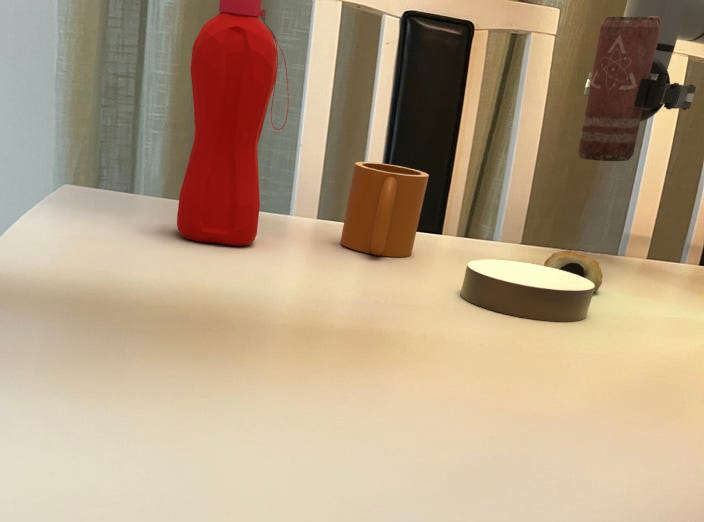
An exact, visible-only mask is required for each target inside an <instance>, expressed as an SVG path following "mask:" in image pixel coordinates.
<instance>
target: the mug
mask: <svg viewBox="0 0 704 522" xmlns="http://www.w3.org/2000/svg"><path fill="white" fill-rule="evenodd" d="M429 177H430V175H429V174H428V173H427V172H424V171H421V170H419V169H414V168H409V167H405V166H402V165H401V166H400V165H396V164H395V165H394V164H388V163H380V162H371V161H357V162H356V161H355V163H354V166H353V171H352V176H351V183H350V188H349V194H348V199H347V204H346V210H345V214H344V215H345V216H344V220H343V226H342V230H341V231H342V232H341V238H340V244H341V245H342V246H344V247H346V248H349V249H351V250H355V251H356V252H357V251H358V252H361V253H365V254H371V255H374V256H376V257H377V256H378V257H379V256H384V257H394V258H404V257H405V258H406V257H410V256H412V254H413V249H414V244H415V240H416V235H417V230H418V227H419V222H420V217H421V213H422V208H423V203H424V199H425V193H426V190H427V185H428V180H429Z"/></svg>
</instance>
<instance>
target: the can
mask: <svg viewBox="0 0 704 522" xmlns="http://www.w3.org/2000/svg"><path fill="white" fill-rule="evenodd" d="M660 29H661V19H660V18H659V17H658V16H649V17H623V16H605V17H604V20H603V21H602V23H601V25H600V26H599V32H598V37H597V41H596V42H597V43H596V46H595V47H596V48H595V53H594V59H593V65H592V70H591V72H592V75H591V81H590V86H589V92H588V96H587V98H586V103H585V110H584V114H583V121H582V127H581V132H580V137H579V143H578V148H577V154H578V156H579V158H580V159H583V160H589V161H598V162H627V161H630V159H631V158H632V157H633V155H634V153H635V149H636V144H637V138H638V134H639V130H640V124H641V122H640V120H641V115H642V110H643V106H644V101H645V97H644V100H643V104H642V107H637V106H635V102H636V99H637V95H638V92H639V89H640V85H641V82H642V78H644V79H649V77H650V72H651V67H652V62H653V57H654V54H655V51H656V47H657V44H658V41H659V35H660ZM646 91H647V90H646ZM645 96H646V94H645Z"/></svg>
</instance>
